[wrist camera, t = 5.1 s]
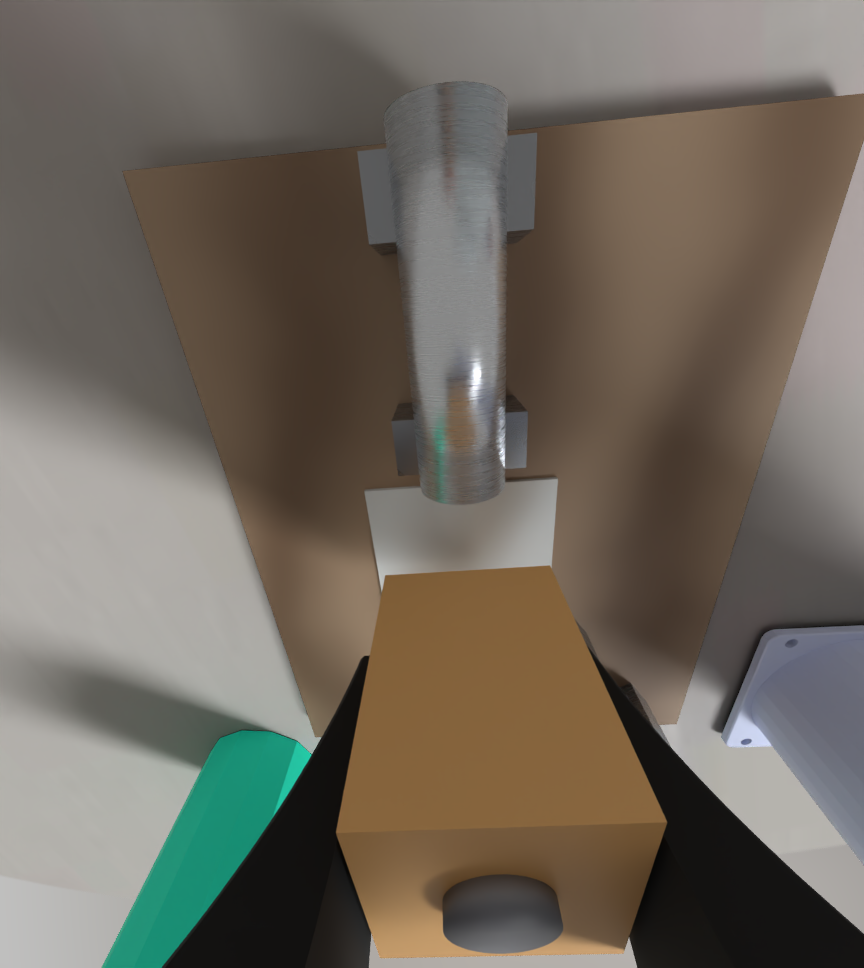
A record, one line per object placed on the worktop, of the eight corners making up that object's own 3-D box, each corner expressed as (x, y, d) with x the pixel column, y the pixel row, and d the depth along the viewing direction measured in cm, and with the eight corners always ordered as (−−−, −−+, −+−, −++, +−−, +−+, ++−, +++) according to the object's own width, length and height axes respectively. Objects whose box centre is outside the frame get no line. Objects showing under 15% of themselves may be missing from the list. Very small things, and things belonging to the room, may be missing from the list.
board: (844, 108, 9) (886, 88, 8) (667, 708, 19) (678, 727, 18) (144, 180, 10) (116, 168, 9) (319, 721, 20) (314, 740, 19)
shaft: (370, 161, 9) (339, 94, 6) (518, 146, 9) (556, 70, 6) (405, 462, 13) (395, 509, 10) (512, 455, 12) (535, 500, 10)
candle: (237, 795, 23) (62, 1229, 12) (191, 737, 21) (-81, 1217, 10) (330, 785, 22) (232, 1230, 12) (294, 723, 20) (126, 1219, 9)
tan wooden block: (543, 680, 12) (631, 980, 6) (403, 687, 12) (377, 984, 7) (550, 565, 10) (680, 851, 5) (385, 575, 10) (330, 861, 5)
